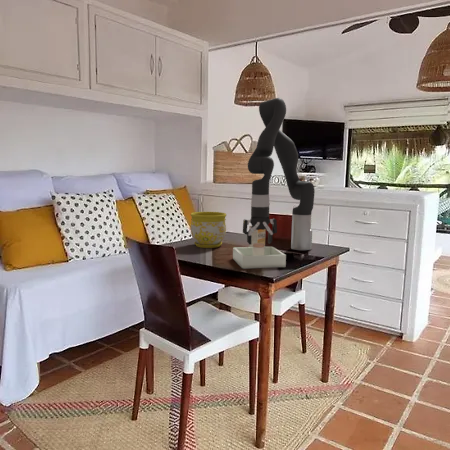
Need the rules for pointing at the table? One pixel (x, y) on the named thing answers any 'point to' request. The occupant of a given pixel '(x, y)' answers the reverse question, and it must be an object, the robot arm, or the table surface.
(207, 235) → the flowerpot
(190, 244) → the table surface
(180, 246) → the table surface
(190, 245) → the table surface
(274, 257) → the bin
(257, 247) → the dressing jar
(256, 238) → the supplement box
